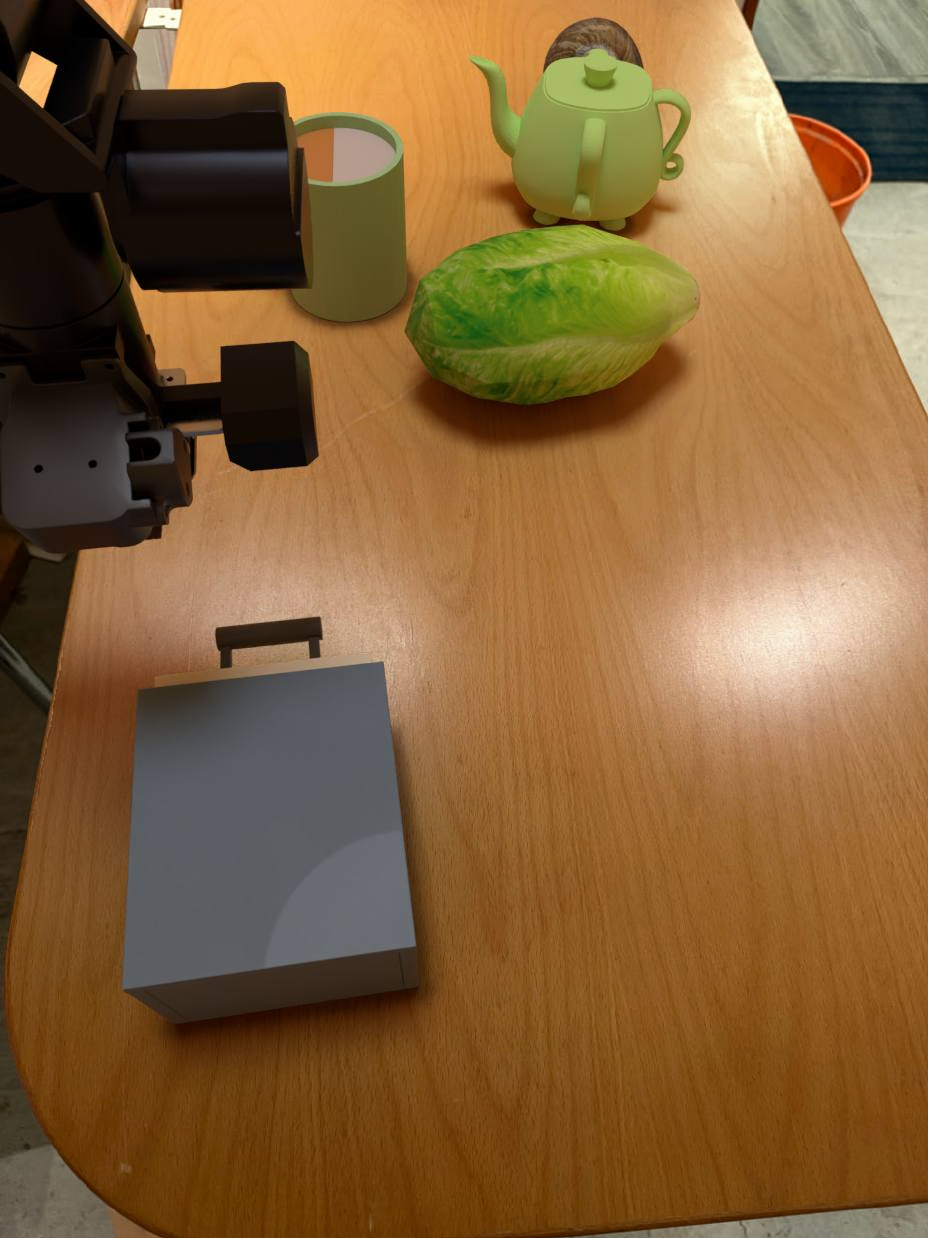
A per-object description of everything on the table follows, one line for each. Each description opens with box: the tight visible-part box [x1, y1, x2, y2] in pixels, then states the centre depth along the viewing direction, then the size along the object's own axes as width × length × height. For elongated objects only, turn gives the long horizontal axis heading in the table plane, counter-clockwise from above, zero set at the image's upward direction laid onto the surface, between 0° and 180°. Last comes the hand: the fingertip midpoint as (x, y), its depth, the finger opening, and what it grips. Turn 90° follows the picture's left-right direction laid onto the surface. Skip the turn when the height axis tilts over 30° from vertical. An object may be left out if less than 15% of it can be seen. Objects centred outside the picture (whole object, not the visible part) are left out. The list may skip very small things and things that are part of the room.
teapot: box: [468, 49, 692, 231], centre depth 80 cm, size 16×14×13 cm
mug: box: [290, 111, 408, 323], centre depth 73 cm, size 13×10×12 cm
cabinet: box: [121, 660, 420, 1025], centre depth 46 cm, size 15×13×9 cm
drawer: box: [154, 615, 373, 687], centre depth 48 cm, size 18×11×7 cm, turn 9°
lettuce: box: [404, 224, 701, 406], centre depth 67 cm, size 13×23×12 cm, turn 103°
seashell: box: [542, 16, 645, 74], centre depth 91 cm, size 11×9×8 cm
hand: (154, 533), depth 48 cm, fingers closed
